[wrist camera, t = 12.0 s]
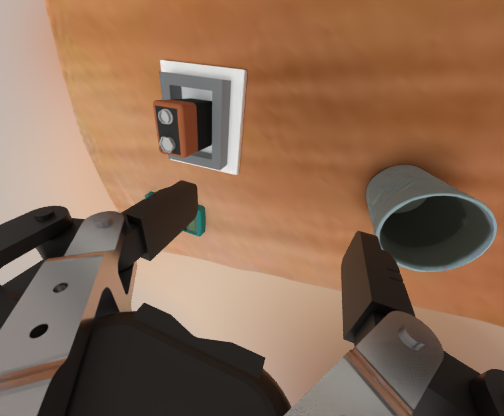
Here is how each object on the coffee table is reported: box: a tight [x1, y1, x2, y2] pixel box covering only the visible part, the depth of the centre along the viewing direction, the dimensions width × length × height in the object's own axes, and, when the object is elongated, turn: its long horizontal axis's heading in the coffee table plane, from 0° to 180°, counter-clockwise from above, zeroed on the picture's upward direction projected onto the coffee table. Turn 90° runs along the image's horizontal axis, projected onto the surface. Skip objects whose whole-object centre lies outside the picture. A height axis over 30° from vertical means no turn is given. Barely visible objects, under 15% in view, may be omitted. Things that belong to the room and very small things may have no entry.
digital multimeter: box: [145, 192, 205, 236], centre depth 47 cm, size 7×15×3 cm, turn 83°
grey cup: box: [366, 165, 497, 272], centre depth 26 cm, size 10×10×12 cm
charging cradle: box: [159, 60, 247, 175], centre depth 34 cm, size 16×14×4 cm
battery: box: [153, 98, 212, 158], centre depth 30 cm, size 4×7×10 cm, turn 174°
